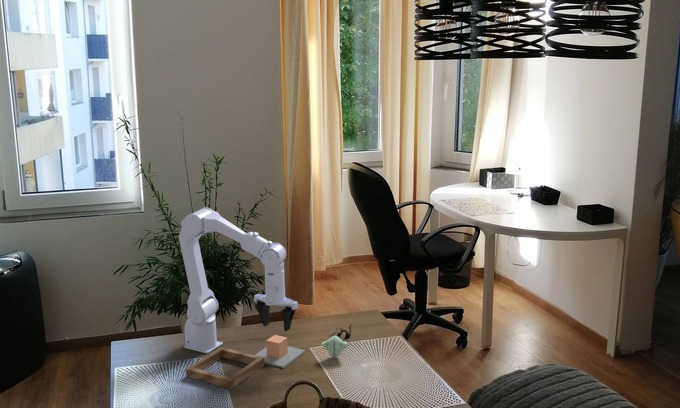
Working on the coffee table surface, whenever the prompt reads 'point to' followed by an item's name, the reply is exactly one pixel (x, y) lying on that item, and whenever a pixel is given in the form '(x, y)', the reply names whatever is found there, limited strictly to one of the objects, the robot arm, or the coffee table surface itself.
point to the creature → (341, 333)
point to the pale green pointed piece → (334, 346)
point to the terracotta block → (277, 346)
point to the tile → (284, 360)
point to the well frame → (228, 382)
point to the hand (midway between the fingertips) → (276, 327)
